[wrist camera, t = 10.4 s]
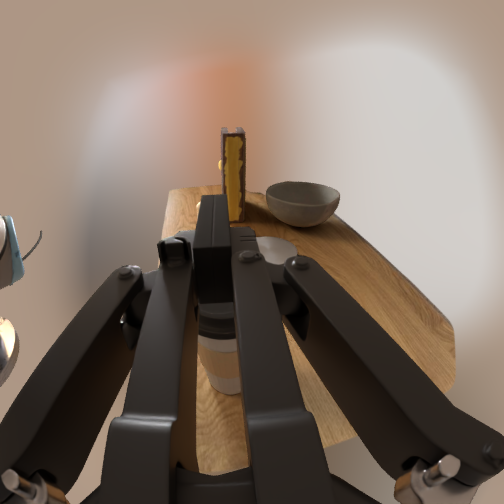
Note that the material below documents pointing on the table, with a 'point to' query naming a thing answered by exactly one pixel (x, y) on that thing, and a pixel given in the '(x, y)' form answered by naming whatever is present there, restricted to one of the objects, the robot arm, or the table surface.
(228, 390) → the coffee cup
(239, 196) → the book
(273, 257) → the scale pan
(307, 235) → the table surface
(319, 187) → the bowl
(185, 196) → the table surface
